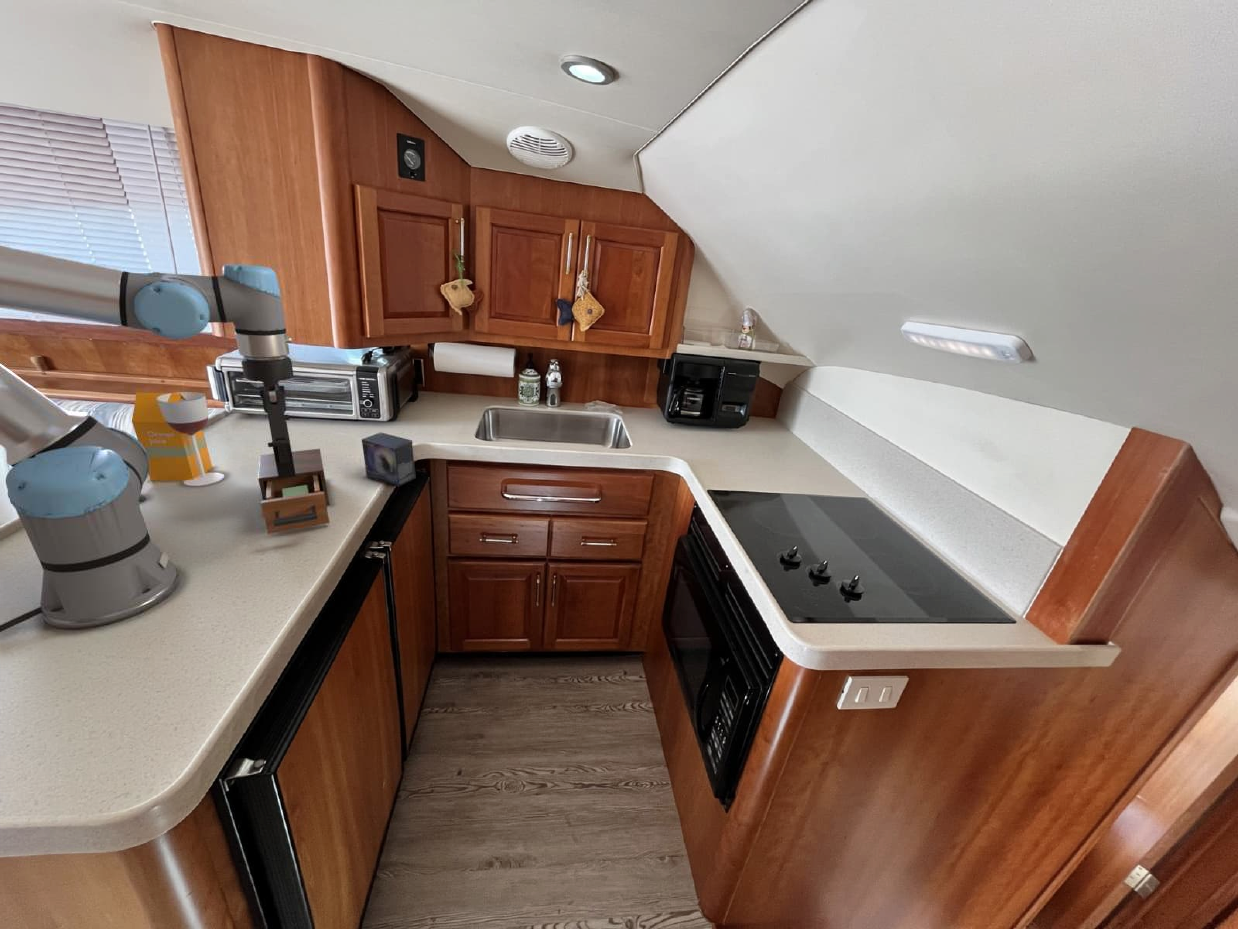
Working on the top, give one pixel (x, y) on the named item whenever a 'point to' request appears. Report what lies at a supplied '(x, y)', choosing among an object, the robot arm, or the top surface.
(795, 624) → the top surface
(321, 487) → the cabinet
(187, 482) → the wineglass
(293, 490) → the block
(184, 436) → the orange juice
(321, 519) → the drawer
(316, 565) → the top surface
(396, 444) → the small box
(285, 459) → the robot arm
